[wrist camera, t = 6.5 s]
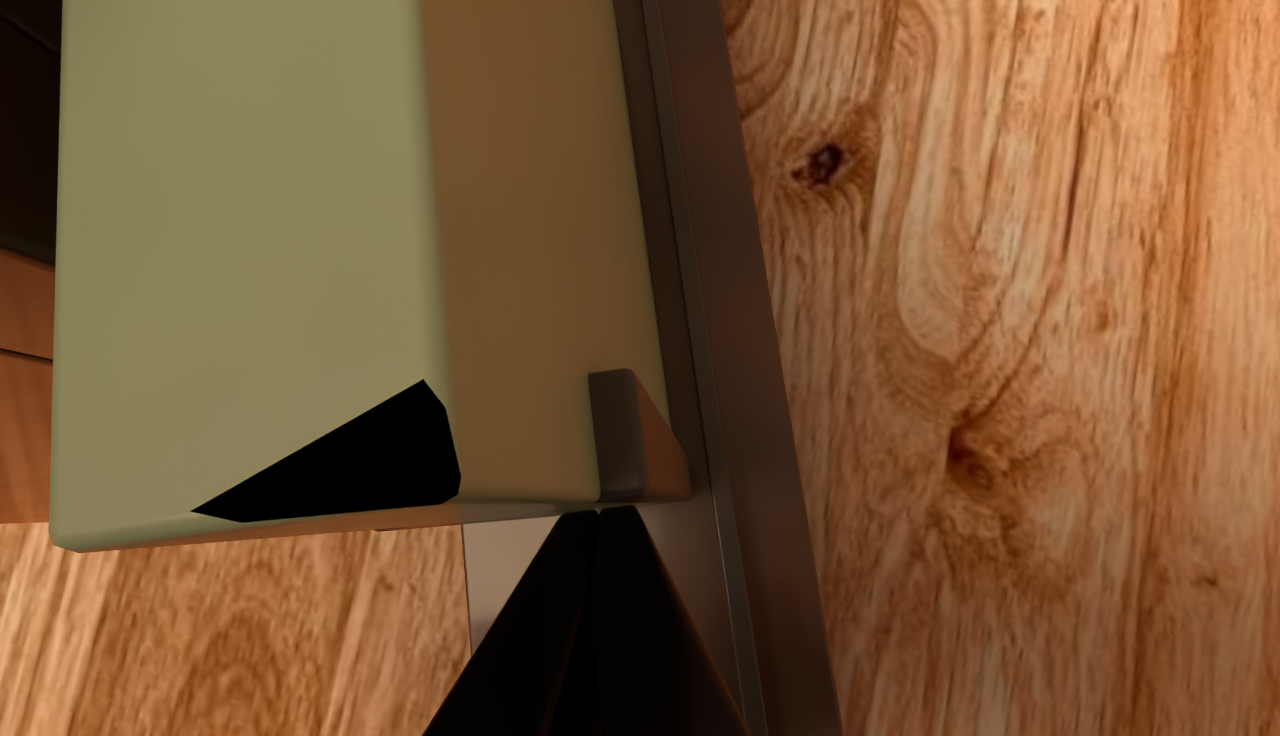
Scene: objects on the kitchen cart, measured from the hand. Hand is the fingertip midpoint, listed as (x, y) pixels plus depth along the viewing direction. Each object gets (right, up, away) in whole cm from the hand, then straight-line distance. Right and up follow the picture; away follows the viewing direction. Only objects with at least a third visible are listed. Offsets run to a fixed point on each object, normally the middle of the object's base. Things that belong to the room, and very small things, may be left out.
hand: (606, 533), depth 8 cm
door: (0, +4, +7) cm, 9 cm away
